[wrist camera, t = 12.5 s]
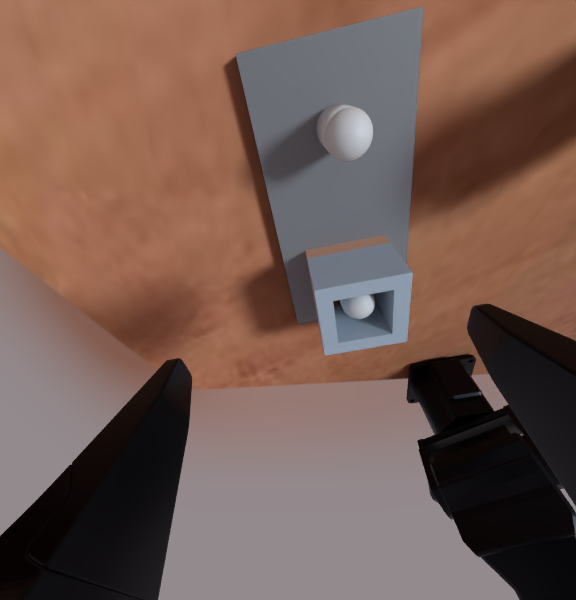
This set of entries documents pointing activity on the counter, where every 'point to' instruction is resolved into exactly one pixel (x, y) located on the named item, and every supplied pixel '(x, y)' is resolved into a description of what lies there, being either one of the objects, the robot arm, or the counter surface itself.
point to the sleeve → (360, 293)
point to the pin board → (336, 140)
